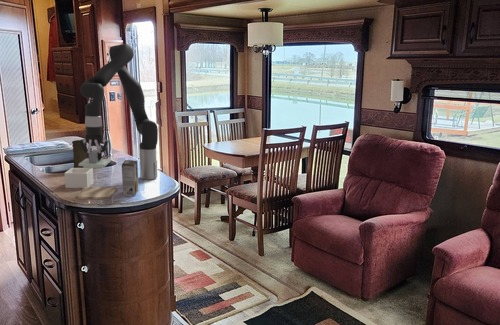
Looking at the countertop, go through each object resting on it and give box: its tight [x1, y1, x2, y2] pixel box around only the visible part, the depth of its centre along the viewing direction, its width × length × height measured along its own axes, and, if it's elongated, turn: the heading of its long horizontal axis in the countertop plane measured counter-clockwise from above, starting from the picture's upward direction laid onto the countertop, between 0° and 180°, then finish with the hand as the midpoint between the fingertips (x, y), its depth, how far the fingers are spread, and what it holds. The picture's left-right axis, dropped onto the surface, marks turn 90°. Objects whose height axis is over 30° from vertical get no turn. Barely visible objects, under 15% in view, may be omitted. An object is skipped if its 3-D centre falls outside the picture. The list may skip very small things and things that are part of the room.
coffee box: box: [121, 159, 139, 197], centre depth 210 cm, size 9×6×16 cm
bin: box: [64, 167, 95, 189], centre depth 221 cm, size 11×11×8 cm
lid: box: [79, 149, 112, 170], centre depth 205 cm, size 12×12×8 cm
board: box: [74, 186, 118, 200], centre depth 208 cm, size 16×16×1 cm
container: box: [71, 139, 88, 168], centre depth 250 cm, size 9×9×18 cm
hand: (95, 160), depth 205 cm, fingers closed on lid, 3 cm apart
